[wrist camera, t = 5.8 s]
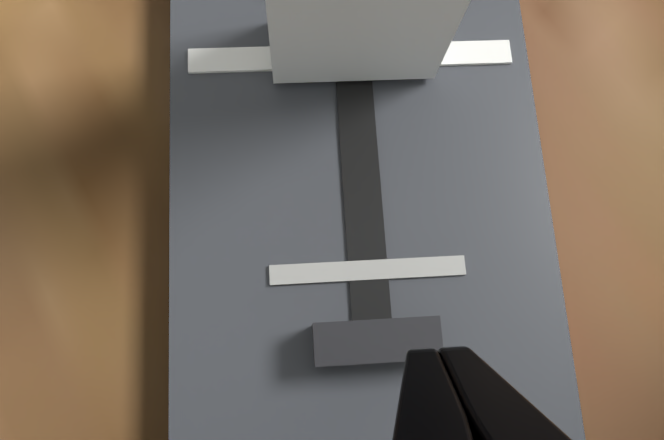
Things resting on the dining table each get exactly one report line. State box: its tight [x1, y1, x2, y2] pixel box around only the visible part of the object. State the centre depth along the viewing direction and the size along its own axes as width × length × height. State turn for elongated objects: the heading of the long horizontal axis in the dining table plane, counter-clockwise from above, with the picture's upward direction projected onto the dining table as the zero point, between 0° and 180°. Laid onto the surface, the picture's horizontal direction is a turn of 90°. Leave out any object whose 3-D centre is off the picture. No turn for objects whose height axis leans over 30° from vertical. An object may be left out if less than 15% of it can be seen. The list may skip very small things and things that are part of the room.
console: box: [169, 0, 585, 440], centre depth 15 cm, size 18×10×2 cm, turn 3°
